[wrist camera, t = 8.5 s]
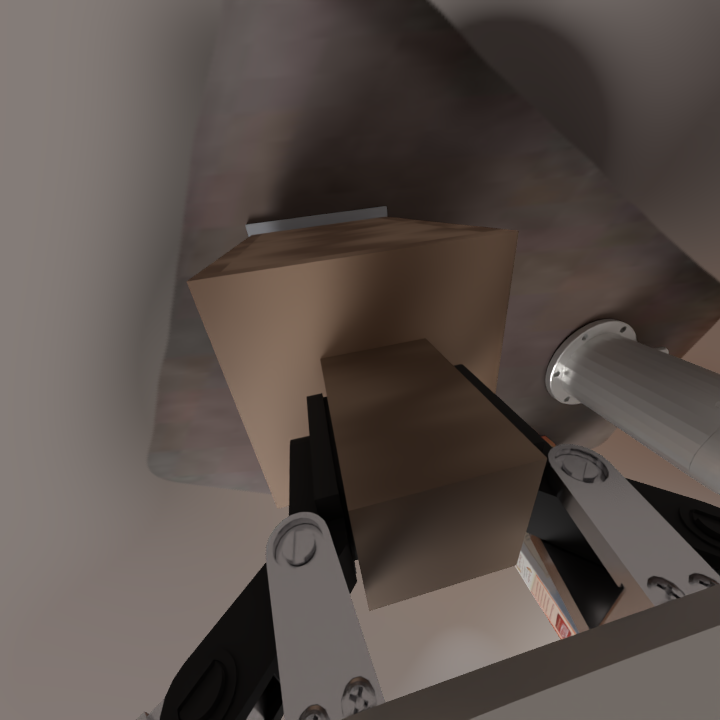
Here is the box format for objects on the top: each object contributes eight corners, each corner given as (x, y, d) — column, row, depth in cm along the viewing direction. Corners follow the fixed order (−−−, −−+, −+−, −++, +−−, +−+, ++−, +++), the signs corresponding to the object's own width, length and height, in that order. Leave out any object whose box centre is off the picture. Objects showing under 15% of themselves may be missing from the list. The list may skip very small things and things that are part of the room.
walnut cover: (386, 216, 23) (779, 259, 5) (393, 335, 29) (590, 589, 10) (252, 234, 22) (14, 403, 3) (284, 356, 27) (268, 697, 8)
